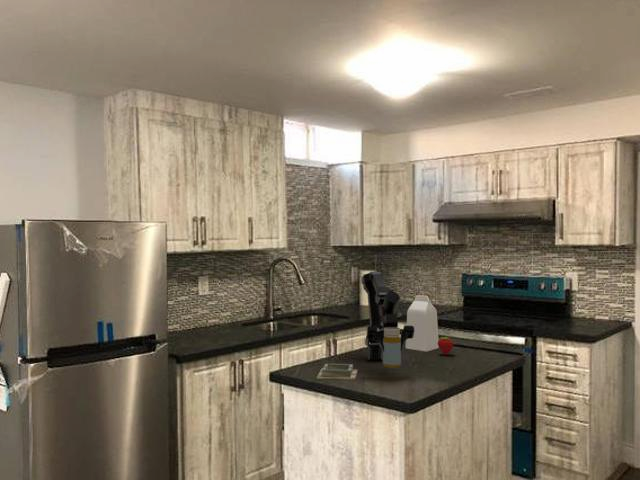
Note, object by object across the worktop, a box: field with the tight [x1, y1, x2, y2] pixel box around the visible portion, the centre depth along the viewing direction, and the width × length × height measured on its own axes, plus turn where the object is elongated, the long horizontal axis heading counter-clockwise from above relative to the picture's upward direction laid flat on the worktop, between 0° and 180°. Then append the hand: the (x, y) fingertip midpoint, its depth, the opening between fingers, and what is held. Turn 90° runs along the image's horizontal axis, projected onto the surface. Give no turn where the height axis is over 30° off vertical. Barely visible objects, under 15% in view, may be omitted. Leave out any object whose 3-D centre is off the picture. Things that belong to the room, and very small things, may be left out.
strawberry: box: [437, 336, 454, 356], centre depth 265 cm, size 6×8×10 cm
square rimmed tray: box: [316, 363, 359, 381], centre depth 230 cm, size 15×15×3 cm
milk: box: [405, 294, 440, 353], centre depth 282 cm, size 12×12×26 cm
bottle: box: [382, 326, 402, 369], centre depth 225 cm, size 7×7×15 cm
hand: (392, 350), depth 223 cm, fingers closed on bottle, 7 cm apart
